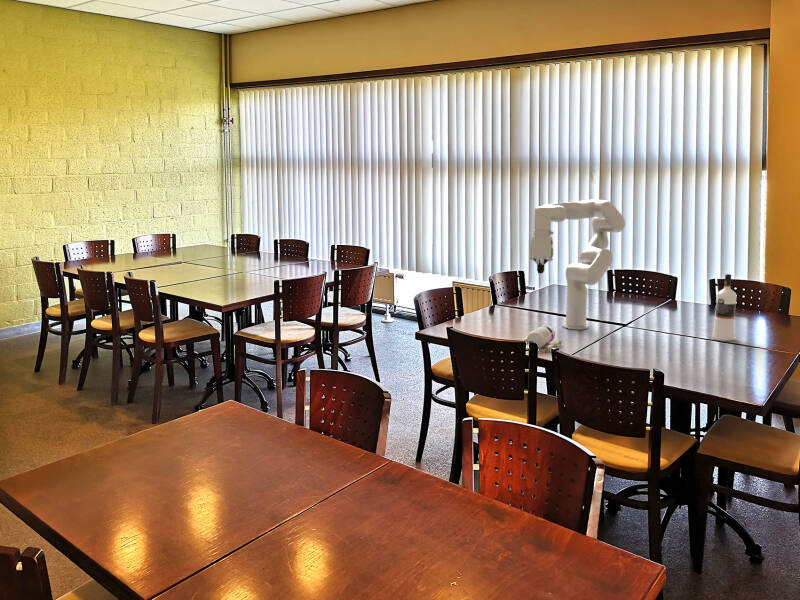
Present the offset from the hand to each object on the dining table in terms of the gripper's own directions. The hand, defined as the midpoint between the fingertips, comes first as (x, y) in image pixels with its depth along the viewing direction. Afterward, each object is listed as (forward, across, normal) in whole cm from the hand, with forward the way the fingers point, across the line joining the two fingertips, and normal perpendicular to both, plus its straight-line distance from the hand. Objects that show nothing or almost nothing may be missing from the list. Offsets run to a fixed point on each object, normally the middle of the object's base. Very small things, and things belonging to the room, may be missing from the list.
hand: (540, 272), depth 339 cm
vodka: (+29, -77, -32) cm, 88 cm away
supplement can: (+25, -9, +13) cm, 29 cm away
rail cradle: (+29, -8, +22) cm, 37 cm away
